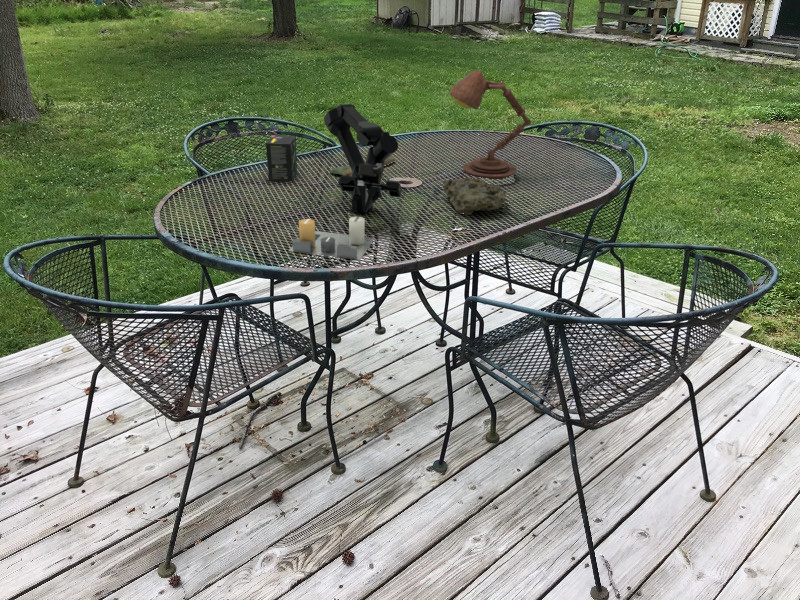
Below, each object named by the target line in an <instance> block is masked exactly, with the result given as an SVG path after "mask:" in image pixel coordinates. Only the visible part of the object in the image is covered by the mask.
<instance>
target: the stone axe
mask: <svg viewBox="0 0 800 600" xmlns="http://www.w3.org/2000/svg"><path fill="white" fill-rule="evenodd" d="M393 161H395V162H396V158H395V157H394V156H392V155H391V156H390V157H389V158H388V159H387V160H385V164H384V165H387V164H389V163H391V162H393ZM330 171H331V172H330V174H332V173H334V174H333V175H335V174H339V175H338V176H342V175H344V176H351V175H352V169H351V167H350V165H340V166H338V167H334V168H332V169H330Z"/></svg>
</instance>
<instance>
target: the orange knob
mask: <svg viewBox="0 0 800 600" xmlns="http://www.w3.org/2000/svg"><path fill="white" fill-rule="evenodd" d="M315 223H316V222H315V220H314V219H311V218H304V219H300V220H299V221H298V230H299V231H298V233H299V234H298V235H299V239H301V240H309V241H313V247H314V246H315V231H316V226H315V225H316V224H315Z"/></svg>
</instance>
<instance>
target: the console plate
mask: <svg viewBox="0 0 800 600" xmlns="http://www.w3.org/2000/svg"><path fill="white" fill-rule="evenodd" d="M324 237H332V238H334V239H335V251H333V252H323V251H321V239H322V238H324ZM374 240H375V237H372V236H371V237H368V236H364V243H363V244H361V245H353V244H351V243H350V242H349V234H345V233H344V234H342V233H335V232H328V231H327V232H326V231H318V230H315V246H314V247H313V241H309V240H301V239H300V238H294V239H293V240H292V246H291V247H290V248H289V249H288V252H293V253H301V254H302V253H303V254H310V255H320V256H329V257H335V258H341V259H342V258H343V259H350V260H352V259H353V260H361V259H362V257H363V256H364V255H365V253H366V252H367V250H368V249H369V248H370V246H371V244H372V243H373V241H374Z"/></svg>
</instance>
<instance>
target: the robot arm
mask: <svg viewBox="0 0 800 600" xmlns="http://www.w3.org/2000/svg"><path fill="white" fill-rule="evenodd" d="M323 119H324V120H323V122H324V125H325V127H326V128H327V130H328V132H329V133H330V134H332V135H333V136H334V137H336V138H337V140H338V142H339V144H340V147H341V148H342V149H341V150H342V151H343V154H344V156H345V158H346V160H347V163H348V166H350V167H351V169H352V175H351V176H344V175H340V176H339V178H338V181H337V184H338V185H339V187H340V190H341V191H343V192H347V193H348V194H350V195H351V197H352V198H351V207H350V208H348V209H349V211H350V212H353V213H356V214H358V215H360V216H365V215H367V214H370V213H373V212H375V211H374V209H375V210H376V208H374V207H373V204H374V203H375V202H376V201H377V200H378V199H379V198H383V191H386V192H388V194H389V196H390V197H393V198H395V197H396V198H401V197H402V192H403V189H402V186H401V183H400V181H399V180H393V179H391V180H390V179H387V180H386V183H382V182H381V181H382V177H383V176H384V167H385V166H384V164H385V160H387V159H388V158H389V157H390V156H391V157H392V155H394V154H395V153H396V152H397V151H398V148H399V143H398V140H397V139H396V138H395V137H394V136H392V135H390V133H389V131H384V130H383V128H382V127H381V126H380V125H379V124H377V123H374V122H371V121H368V120H367V119H366V118H364V116H363V115H362V114H361V113H360V112H359V111H358V110H357V109H356V107H355V105H354V104H352V103H343V104H339V105H337V106H336V107H335V108H333V109H331V110H329V111H327V112H326V114H325V115H324V118H323ZM351 128H352V130H353V131H354V132H355V133H356V139H355V138H354V136H353V133H352V131H351ZM356 140H357V141H356ZM357 142H358V143H359V144H360V146H361V147H363V148H364V147H368V151H367V155H366V160H365V159H364V157H363V156H362V153H361V151H360V149H359V146H358V144H357ZM369 146H371V147H369ZM372 211H373V212H372ZM376 211H377V210H376Z"/></svg>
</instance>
